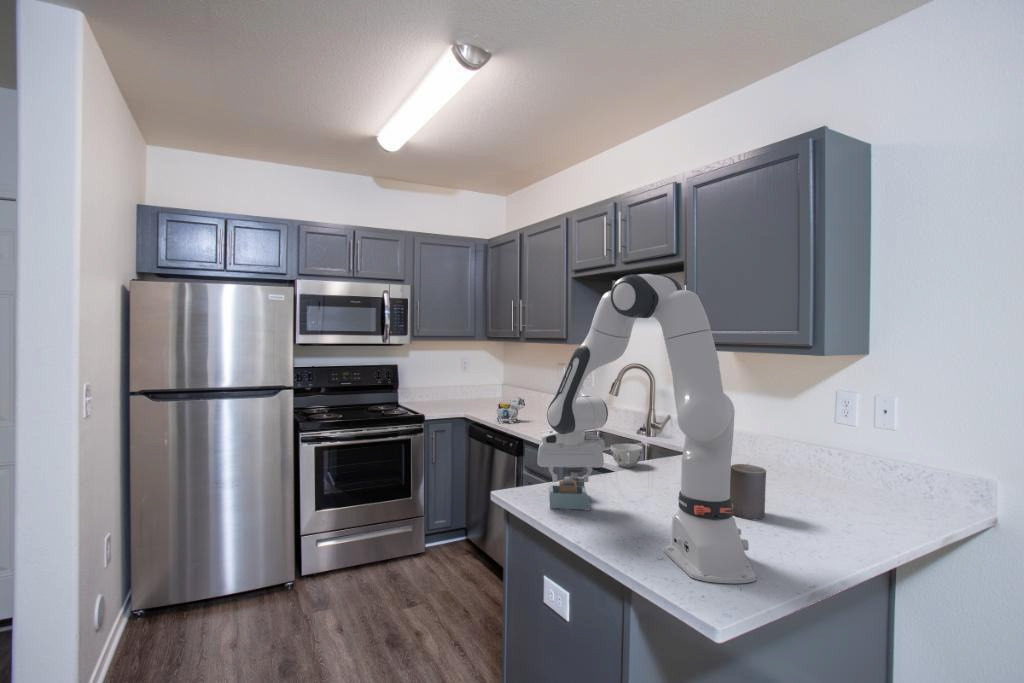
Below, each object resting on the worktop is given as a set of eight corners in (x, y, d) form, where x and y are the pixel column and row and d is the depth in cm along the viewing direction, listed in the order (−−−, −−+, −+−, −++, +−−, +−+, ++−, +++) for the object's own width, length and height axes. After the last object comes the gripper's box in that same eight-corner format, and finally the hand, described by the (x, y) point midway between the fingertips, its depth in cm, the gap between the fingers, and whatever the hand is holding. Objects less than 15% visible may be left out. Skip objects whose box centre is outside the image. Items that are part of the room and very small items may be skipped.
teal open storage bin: (590, 510, 156) (590, 491, 156) (549, 508, 156) (550, 490, 156) (585, 493, 172) (585, 477, 172) (548, 492, 172) (548, 476, 172)
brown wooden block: (576, 502, 158) (577, 483, 158) (560, 502, 158) (560, 483, 158) (575, 496, 164) (575, 478, 164) (559, 496, 164) (559, 477, 164)
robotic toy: (522, 425, 301) (523, 398, 301) (493, 423, 304) (493, 397, 304) (526, 421, 314) (526, 396, 314) (497, 420, 317) (498, 395, 317)
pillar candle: (721, 510, 158) (723, 460, 157) (746, 507, 161) (748, 458, 161) (746, 522, 149) (748, 469, 148) (772, 518, 152) (774, 466, 152)
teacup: (609, 461, 217) (609, 442, 217) (640, 462, 216) (640, 443, 215) (611, 470, 202) (612, 450, 202) (645, 472, 201) (645, 451, 200)
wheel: (583, 484, 166) (583, 467, 166) (565, 483, 166) (566, 467, 166) (582, 479, 172) (582, 463, 172) (564, 479, 172) (565, 462, 172)
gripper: (603, 434, 163) (603, 479, 163) (537, 434, 164) (537, 478, 164) (605, 438, 157) (605, 484, 157) (537, 437, 158) (537, 483, 158)
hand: (570, 481), depth 161 cm, fingers open, 8 cm apart
